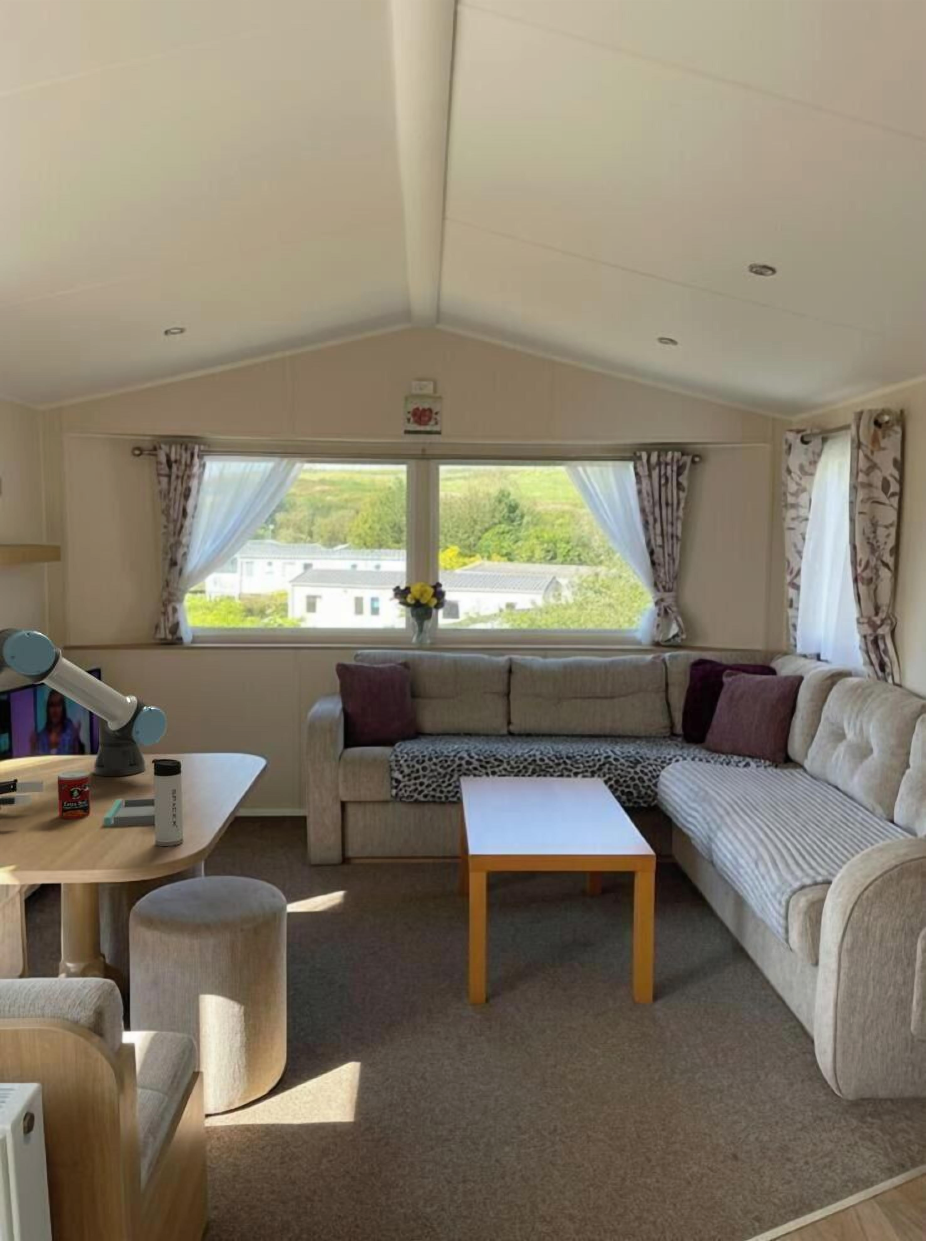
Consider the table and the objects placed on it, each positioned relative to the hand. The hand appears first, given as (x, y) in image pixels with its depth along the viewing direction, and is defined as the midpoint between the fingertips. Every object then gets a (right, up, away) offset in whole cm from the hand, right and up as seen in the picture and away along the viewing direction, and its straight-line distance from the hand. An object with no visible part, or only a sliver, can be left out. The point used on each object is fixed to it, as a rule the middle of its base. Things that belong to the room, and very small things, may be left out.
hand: (36, 792), depth 248 cm
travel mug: (+41, -8, -21) cm, 47 cm away
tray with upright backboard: (+26, -6, +2) cm, 27 cm away
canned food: (+9, -7, +2) cm, 11 cm away
